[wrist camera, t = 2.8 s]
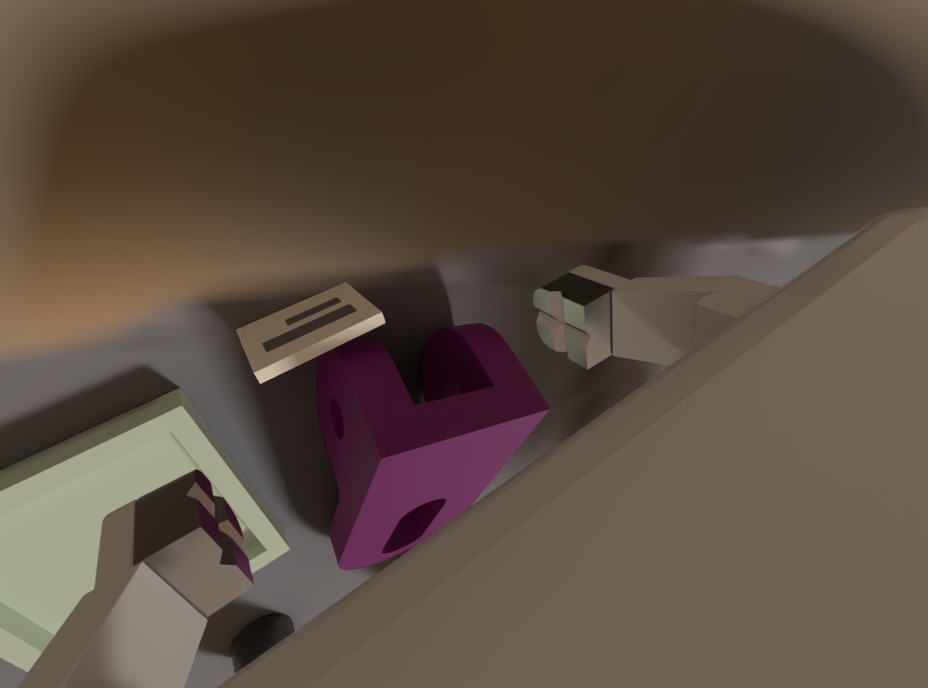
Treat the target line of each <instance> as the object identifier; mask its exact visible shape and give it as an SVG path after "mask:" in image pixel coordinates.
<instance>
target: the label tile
mask: <svg viewBox="0 0 928 688" xmlns="http://www.w3.org/2000/svg"><path fill="white" fill-rule="evenodd" d="M385 323H386V322H385V319H384V316H383V314H382V312H381V311H380V310H379V309H378V308H376V307H375V306H374V305H373V304H372V303H370V302H369V301H368V300H367V299H366V298H364V297H363V296H362V295H361V294H359V293H358V292H357V291H356V290H355V289H353V288H352V287H351V286H350V285H349V284H347V283H346V282H345V283H342V284H340V285H338V286H335V287H333V288H331V289H329V290H326V291H324V292H322V293H319V294H317V295H315V296H312V297H310V298H308V299H305V300H303V301H301V302H298V303H296V304H294V305H292V306H289V307H287V308H285V309H282V310H280V311H278V312H275V313H273V314H271V315H268V316H266V317H264V318H262V319H259V320H257V321H255V322H252V323H250V324H248V325H245V326H243V327H241V328H238V329H236V332H237V334H238V337H239V339H240V341H241V344H242V346H243V349H244V351H245V353H246V356H247V358H248V361H249V363H250V365H251V368H252V370H253V373H254V374H255V376H256V378H257V379H258V381H259V383H260V384H261V383H263V382H265V381H267V380H270V379H272V378H274V377H276V376H278V375H280V374H282V373H284V372H286V371H288V370H290V369H292V368H294V367H296V366H298V365H300V364H302V363H304V362H307V361H309V360H311V359H313V358H315V357H317V356H319V355H321V354H323V353H325V352H327V351H329V350H331V349H333V348H335V347H337V346H339V345H341V344H344V343H346V342H348V341H350V340H352V339H354V338H356V337H358V336H360V335H362V334H364V333H366V332H368V331H370V330H372V329H374V328H376V327H378V326H381V325H383V324H385Z"/></svg>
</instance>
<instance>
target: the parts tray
mask: <svg viewBox="0 0 928 688" xmlns="http://www.w3.org/2000/svg"><path fill="white" fill-rule="evenodd" d="M195 469H197V470H200V471H202V473H203V474H204V475H205V476H206V477H207V478H208V480H209V481H210V482H211V485H212V491H213V495H214V496H220V497H223V498H224V499H225V500H226V502H227V503H228V504H229V506H230V507H231V509H232V510H233V512H234V514H235V515H236V517H237V520H238V522H239V524H240V527H241V529H242V533H243V537H244V541H243V543H242V545H241V550H242V551H243V552H244V553H245V554H246V556H247V557H248V559H249V564H250V568H251V573H254V572H255V571H257V570H259V569H260V568H262V567H263V566H265V565H266V564H268V563H270V562H271V561H273V560H274V559H276V558H277V557H279V556H280V555H282V554H284V553H285V552H287V551H288V550H290V547H289V544H288V541H287V538H286V535H285V532H284V529H283V527H282V526H281V525H280V523H279V522H278V521H277V519H276V518H275V516H274V515H273V514H272V512H271V511H270V510H269V508H268V507H267V506H266V504H265V503H264V501H263V500H262V499H261V497H260V496H259V495H258V493H257V492H256V491H255V489H254V488H253V487H252V485H251V484H250V482H249V481H248V480H247V478H246V477H245V476H244V474H243V473H242V472H241V470H240V469H239V467H238V466H237V465H236V463H235V462H234V461H233V459H232V458H231V457H230V455H229V454H228V453H227V451H226V450H225V448H224V447H223V446H222V444H221V443H220V442H219V440H218V439H217V438H216V436H215V435H214V433H213V432H212V431H211V429H210V428H209V427H208V425H207V424H206V423H205V421H204V420H203V419H202V417H201V416H200V414H199V413H198V412H197V410H196V409H195V408H194V406H193V405H192V404H191V402H190V401H189V399H188V398H187V397H186V395H185V394H184V393H183V391H182V390H181V389H180V388H178V389H176V390H174V391H171V392H169V393H167V394H165V395H163V396H161V397H158V398H156V399H154V400H152V401H150V402H147V403H145V404H143V405H141V406H139V407H137V408H134V409H132V410H130V411H128V412H126V413H124V414H121V415H119V416H117V417H115V418H113V419H110V420H108V421H106V422H104V423H102V424H100V425H97V426H95V427H93V428H91V429H89V430H86V431H84V432H82V433H80V434H78V435H76V436H73V437H71V438H69V439H67V440H65V441H63V442H60V443H58V444H56V445H54V446H52V447H49V448H47V449H45V450H43V451H41V452H39V453H36V454H34V455H32V456H30V457H28V458H26V459H23V460H21V461H19V462H17V463H15V464H12V465H10V466H8V467H6V468H4V469H2V470H0V658H2V659H4V660H6V661H8V662H10V663H12V664H13V665H15V666H17V667H19V668H21V669H23V670H25V671H27V672H29V670H30V669H31V668H32V666H33V665H34V663H35V662H36V661H37V659H38V658H39V657H40V655H41V654H42V652H43V651H44V650H45V648H46V647H47V645H48V644H49V643H50V641H51V640H52V638H53V637H54V636H55V634H56V633H57V631H58V630H59V629H60V627H61V626H62V625H63V623H64V622H65V620H66V619H67V618H68V616H69V615H70V613H71V612H72V611H73V609H74V608H75V606H76V605H77V604H78V602H79V601H80V600H81V598H82V597H83V595H85V594H87V593H88V592H90V591H92V590H93V589H94V585H95V576H96V568H97V560H98V552H99V543H100V535H101V527H102V521H103V519H104V518H105V517H106V515H107V514H109V513H111V512H113V511H115V510H116V509H118V508H120V507H122V506H124V505H126V504H128V503H130V502H131V501H133V500H136V499H138V498H139V497H141V496H143V495H145V494H147V493H149V492H151V491H153V490H155V489H157V488H159V487H161V486H163V485H165V484H167V483H169V482H171V481H173V480H175V479H177V478H179V477H181V476H183V475H185V474H187V473H189V472H191V471H193V470H195Z"/></svg>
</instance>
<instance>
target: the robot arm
mask: <svg viewBox="0 0 928 688" xmlns="http://www.w3.org/2000/svg"><path fill="white" fill-rule="evenodd" d="M533 302H534V307H535V308H536V309H538V310H539V314H538V317H537V320H536V325H537V330H538V334H539V335H540V337H541V339H542V341H543V342H544V343H545V344H546V345H547V346H548V347H549V348H551V349H552V350H554V351H559V352H566V353H567V357H568V359H570V360H572V361H573V362H575V363H577V364H579V365H580V366H582V367H584V368H586V369H589V368H591V367H593V366H594V365H596V364H597V363H599V362H601V361H602V360H604V359H606V358H607V357H609V356H611V355H612V354H613V356H617V357H623V358H628V359H634V360H640V361H646V362H652V363H657V364H663V365H669V366H668V367H667V368H666V369H664V370H663V371H661V372H660V373H659V374H657V375H656V376H654V377H653V378H651V379H650V380H649V381H647V382H646V383H644V384H643V385H642V386H640V387H639V388H637V389H636V390H635V391H633V392H632V393H630V394H629V395H628V396H626V397H625V398H623V399H622V400H620V401H619V402H618V403H616V404H615V405H613V406H612V407H611V408H609V409H608V410H606V411H605V412H604V413H602V414H601V415H599V416H598V417H596V418H595V419H594V420H592V421H591V422H589V423H588V424H587V425H585V426H584V427H582V428H581V429H580V430H578V431H577V432H575V433H574V434H572V435H571V436H570V437H568V438H567V439H565V440H564V441H563V442H561V443H560V444H558V445H557V446H556V447H554V448H553V449H551V450H550V451H548V452H547V453H546V454H544V455H543V456H541V457H540V458H539V459H537V460H536V461H534V462H533V463H531V464H530V465H529V466H527V467H526V468H524V469H523V470H522V471H520V472H519V473H517V474H516V475H515V476H513V477H512V478H510V479H509V480H507V481H506V482H505V483H503V484H502V485H500V486H499V487H498V488H496V489H495V490H493V491H492V492H491V493H489V494H488V495H486V496H485V497H483V498H482V499H481V500H479V501H478V502H476V503H475V504H474V505H472V506H471V507H469V508H468V509H467V510H465V511H464V512H462V513H461V514H460V515H458V516H457V517H455V518H454V519H453V520H451V521H450V522H448V523H447V524H445V525H444V526H443V527H441V528H440V529H438V530H437V531H436V532H434V533H433V534H431V535H430V536H429V537H427V538H426V539H424V540H423V541H422V542H420V543H419V544H417V545H416V546H415V547H413V548H412V549H410V550H409V551H408V552H406V553H405V554H403V555H402V556H401V557H399V558H398V559H396V560H395V561H393V562H392V563H391V564H389V565H388V566H386V567H385V568H384V569H382V570H381V571H379V572H378V573H377V574H375V575H374V576H372V577H371V578H370V579H368V580H367V581H365V582H364V583H363V584H361V585H360V586H358V587H357V588H356V589H354V590H353V591H351V592H350V593H349V594H347V595H346V596H344V597H343V598H342V599H340V600H339V601H337V602H336V603H334V604H333V605H332V606H330V607H329V608H327V609H326V610H325V611H323V612H322V613H320V614H319V615H317V616H316V617H315V618H313V619H312V620H310V621H309V622H307V623H306V624H305V625H303V626H302V627H300V628H299V629H298V630H296V631H295V632H293V633H292V634H290V635H289V636H288V637H286V638H285V639H283V640H282V641H281V642H279V643H278V644H276V645H275V646H273V647H272V648H271V649H269V650H268V651H266V652H265V653H264V654H262V655H261V656H259V657H258V658H256V659H255V660H254V661H252V662H251V663H249V664H248V665H247V666H245V667H244V668H242V669H241V670H239V671H238V672H237V673H235V674H234V675H232V676H231V677H230V678H228V679H227V680H225V681H224V682H223V683H221V684H220V685H218V686H217V687H216V688H928V207H923V208H916V209H909V210H902V211H897V212H892V213H888V214H885V215H883V216H881V217H879V218H877V219H875V220H873V221H872V222H871V223H869V224H868V225H867V226H865V227H864V228H863V229H861V230H860V231H859V232H857V233H856V234H854V235H853V236H852V237H850V238H849V239H847V240H846V241H845V242H843V243H842V244H840V245H839V246H838V247H836V248H835V249H833V250H832V251H830V252H829V253H828V254H826V255H825V256H823V257H822V258H821V259H819V260H818V261H816V262H815V263H814V264H812V265H811V266H809V267H808V268H807V269H805V270H804V271H802V272H801V273H799V274H798V275H797V276H795V277H794V278H792V279H791V280H790V281H788V282H787V283H785V284H784V285H783V286H781V287H777V286H773V285H770V284H766V283H762V282H758V281H755V280H751V279H747V278H743V277H740V276H736V275H724V276H685V277H646V278H634V279H632V280H629V279H626V278H623V277H620V276H617V275H614V274H611V273H608V272H605V271H602V270H599V269H595V268H592V267H589V266H586V265H581V266H577V267H576V268H574V269H572V270H570V271H569V272H567V273H565V274H564V275H562V276H561V277H559V278H557V279H555V280H553V281H552V282H550V283H548V284H546V285H544V286H542V287H541V288H539V289H537V290H535V291H534V295H533ZM243 541H244V537H243V533H242V529H241V527H240V524H239V522H238V520H237V517H236V515H235V514H234V512H233V510H232V509H231V507H230V506H229V504H228V503H227V502H226V500H225V499H224V498H223V497H220V496H214V495H213V491H212V485H211V482H210V481H209V480H208V478H207V477H206V476H205V475H204V474H203V473H202V471H200V470H197V469H195V470H193V471H191V472H189V473H187V474H185V475H183V476H181V477H179V478H177V479H175V480H173V481H171V482H169V483H167V484H165V485H163V486H161V487H159V488H157V489H155V490H153V491H151V492H149V493H147V494H145V495H143V496H141V497H139V498H138V499H136V500H133V501H131V502H130V503H128V504H126V505H124V506H122V507H120V508H118V509H116V510H115V511H113V512H111V513H109V514H107V515H106V517H105V518H104V519H103V521H102V527H101V535H100V543H99V552H98V560H97V568H96V576H95V585H94V589H93V590H92V591H90V592H88V593H87V594H85V595H83V597H82V598H81V600H80V601H79V602H78V604H77V605H76V606H75V608H74V609H73V611H72V612H71V613H70V615H69V616H68V618H67V619H66V620H65V622H64V623H63V625H62V626H61V627H60V629H59V630H58V631H57V633H56V634H55V636H54V637H53V638H52V640H51V641H50V643H49V644H48V645H47V647H46V648H45V650H44V651H43V652H42V654H41V655H40V657H39V658H38V659H37V661H36V662H35V663H34V665H33V666H32V668H31V669H30V670H29V672H28V673H27V675H26V676H25V677H24V679H23V680H22V682H21V683H20V684H19V686H18V687H17V688H184V686H185V683H186V680H187V677H188V675H189V672H190V669H191V666H192V663H193V660H194V658H195V655H196V652H197V649H198V646H199V643H200V641H201V638H202V635H203V632H204V629H205V627H206V624H207V621H208V620H207V619H206V618H207V617H209V616H210V615H212V614H213V613H215V612H216V611H217V610H219V609H220V608H222V607H223V606H225V605H226V604H228V603H229V602H231V601H232V600H234V599H235V598H237V597H238V596H240V595H241V594H242V593H244V592H245V591H247V590H248V589H250V588H251V587H253V586H254V582H253V577H252V573H251V568H250V564H249V559H248V557H247V556H246V554H245V553H244V552H243V551H242V550H241V545H242V543H243Z"/></svg>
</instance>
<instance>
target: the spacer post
mask: <svg viewBox="0 0 928 688" xmlns="http://www.w3.org/2000/svg"><path fill="white" fill-rule="evenodd" d="M293 632H295V629H294V625H293V622H292V619H291V618H290V617H289V616H287V615H285V614H271V615H267V616H264V617H261V618H259V619H257V620H255V621H253V622H252V623H250V624H249V625H247V626H246V627H245V628H243V629H242V630H241V631H240V632H239V633H238V635H237V636H236V637H235V639H234V641H233V643H232V646H231V653H232V660H233V666H234V673H237V672H238V671H239V670H241V669H242V668H244V667H245V666H247V665H248V664H249V663H251V662H252V661H254V660H255V659H256V658H258V657H259V656H261V655H262V654H264V653H265V652H266V651H268V650H269V649H271V648H272V647H273V646H275V645H276V644H278V643H279V642H281V641H282V640H283V639H285V638H286V637H288V636H289V635H290V634H292V633H293Z"/></svg>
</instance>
